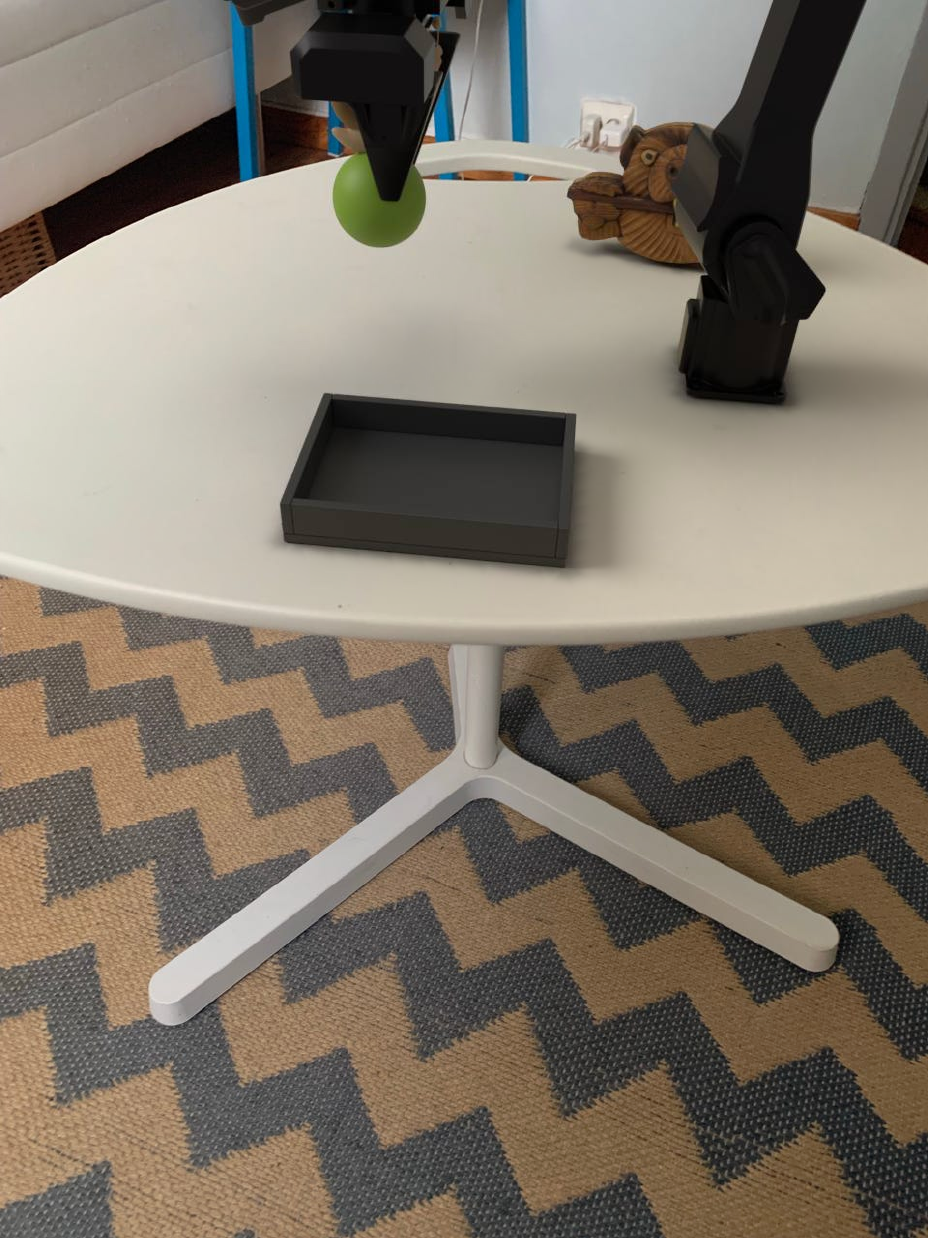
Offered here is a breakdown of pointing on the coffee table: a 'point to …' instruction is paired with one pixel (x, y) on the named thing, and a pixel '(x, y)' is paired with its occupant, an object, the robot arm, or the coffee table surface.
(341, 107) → the snail figurine
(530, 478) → the tray
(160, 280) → the coffee table surface
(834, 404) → the coffee table surface
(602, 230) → the wooden carving
